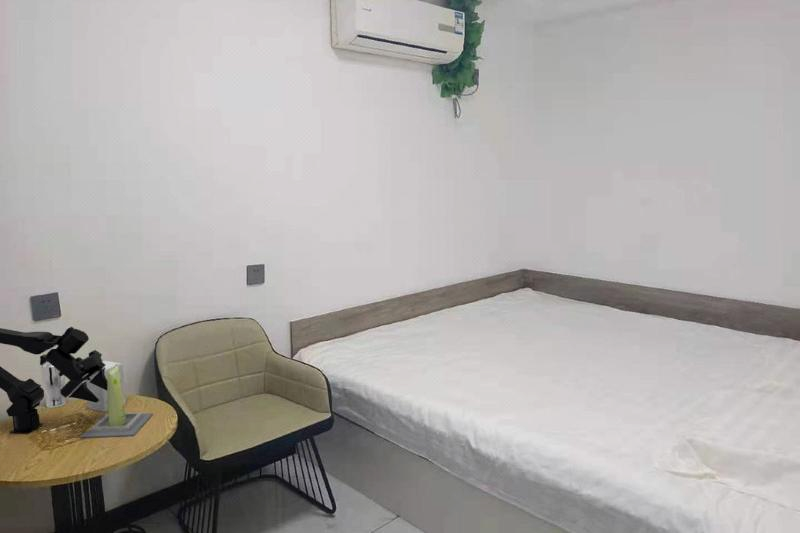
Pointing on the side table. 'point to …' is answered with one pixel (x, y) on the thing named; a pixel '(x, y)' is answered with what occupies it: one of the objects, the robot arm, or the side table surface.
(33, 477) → the side table surface
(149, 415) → the mat
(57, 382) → the beer glass
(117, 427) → the collar
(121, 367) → the supplement box
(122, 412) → the tube
